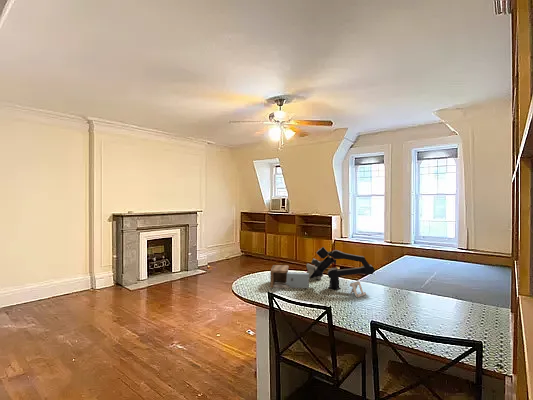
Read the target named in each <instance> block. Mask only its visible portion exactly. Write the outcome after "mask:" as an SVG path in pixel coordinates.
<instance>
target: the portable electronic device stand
mask: <svg viewBox="0 0 533 400" xmlns="http://www.w3.org/2000/svg"><path fill="white" fill-rule="evenodd" d="M349 286H350V287H351V291H350V293H349V295H352V294H354V295H355V297H356V298H360V297H363V296H364V297H365V296H366V294H367V292H366V291H365V292H364V290H363V288H362V285H361V281H359V280H358V281H354V282H351V283H349ZM358 287H359V290H360V293H358V292H357V288H358Z"/></svg>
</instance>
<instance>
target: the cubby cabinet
mask: <svg viewBox="0 0 533 400" xmlns="http://www.w3.org/2000/svg"><path fill="white" fill-rule="evenodd" d="M289 267H290V266H289V265H287V264H284V265H282V264H281V265H280V264H272V266H271V268H270V281H269V282H270V286H269V287H270V289H271V288H272V289H273V288H279V289H280V288H281V289H282V288H283V289H290V287H289V285H287V272H289Z"/></svg>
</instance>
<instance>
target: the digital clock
mask: <svg viewBox="0 0 533 400" xmlns="http://www.w3.org/2000/svg"><path fill="white" fill-rule="evenodd" d="M314 268H316V266H314V264H312V263H311V264H310V263H306V270H307V271H306V272H305V273H309V280H311V281H315V280H318V281H321V280H322V277H320V276H317V277H314V278H310V276H311V275H312V273H313V272H314Z"/></svg>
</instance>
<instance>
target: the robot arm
mask: <svg viewBox="0 0 533 400" xmlns="http://www.w3.org/2000/svg"><path fill="white" fill-rule="evenodd" d="M315 253H316V255H318V257H319V258H320V259H322V260H321V261H319V260H318V259H316V258H314V257H313V258H312V260H311V261H310V262H311V265H313V266H316V268H314V272H313V273H312V275H311V276H310V278H314V277H317V276H320V277H321V278H322V277H323V276H324V272H325V271H326V270H327V269H328V268H329V267H330V266H331V265H332V264H333V263H334V265H336V264H337V260H349V261H354V262H358V263H359V262H360V263H361V265H362V266H360V267H353V268H343V269H339V268H338V267H331V268H329V269H328V270H327V276H328V278H329V287H328V289H331V290H334V291H337V290H341V287H340V278H339V277H342V276H350V275H351V276H353V275H358V274H359V275H360V274H363V275H373V274H374V273H375V267H374V266H373V265H372V264H370V263H369V262H368V260H367V259H366V258H365V256H364V255H358V254H357V255H356V254H352V253H346V252H343V251H341V250H338V249H334V250H331V251H328V250H327V249H326V248H325V247H324V246H322V247H321V248H319V249H318V250H317V251H316V252H315Z"/></svg>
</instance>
